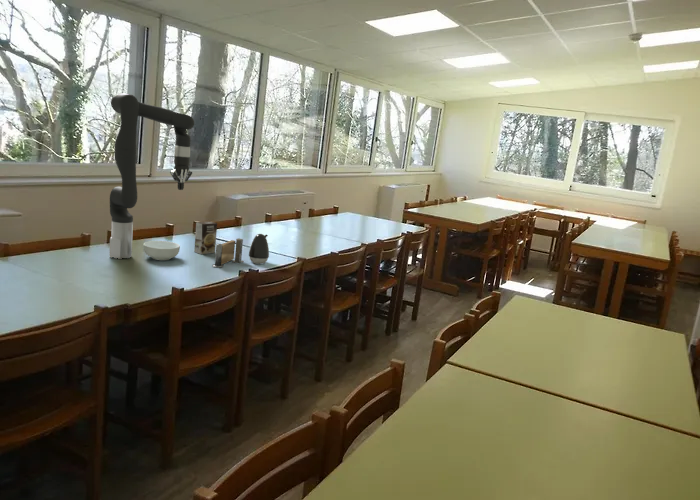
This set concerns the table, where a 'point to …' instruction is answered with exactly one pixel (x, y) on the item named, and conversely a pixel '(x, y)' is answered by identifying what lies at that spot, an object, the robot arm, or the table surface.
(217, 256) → the hinge post
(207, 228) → the coffee box
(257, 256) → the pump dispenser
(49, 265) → the table surface
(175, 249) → the cereal bowl
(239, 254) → the post
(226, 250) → the gate
